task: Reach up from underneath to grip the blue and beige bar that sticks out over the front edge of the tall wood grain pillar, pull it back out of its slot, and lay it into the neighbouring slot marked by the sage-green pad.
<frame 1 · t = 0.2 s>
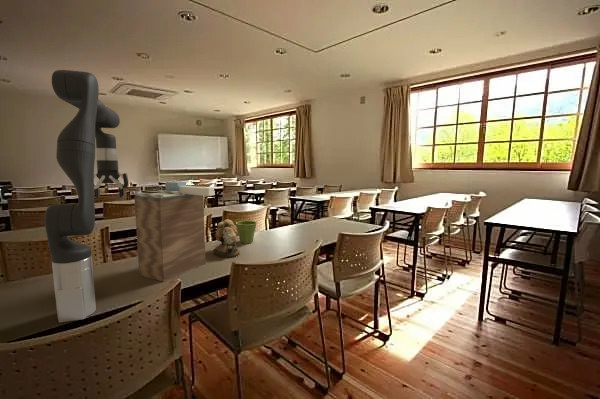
hand: (110, 197, 126), 29 cm above the table, tool pointing down, fingers open, 8 cm apart
blue and beige bar: (187, 193, 123), point 32 cm above the table, touching tall wood grain pillar
plant pot: (246, 242, 167), on the table
tall wood grain pillar: (174, 269, 125), on the table
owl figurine: (226, 253, 147), on the table
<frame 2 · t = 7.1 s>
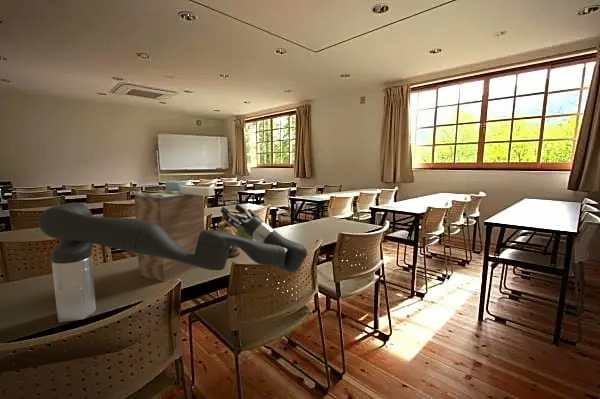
hand: (229, 207, 115), 28 cm above the table, tool pointing upward, fingers open, 8 cm apart
nothing on the table moved.
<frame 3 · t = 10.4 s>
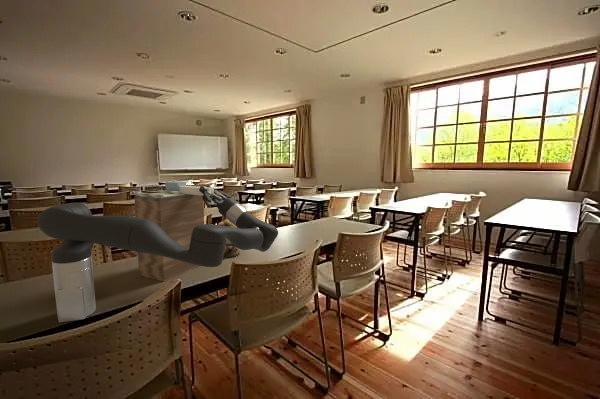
hand: (203, 187, 119), 35 cm above the table, tool pointing upward, fingers closed on blue and beige bar, 3 cm apart
blue and beige bar: (187, 193, 123), point 32 cm above the table, touching gripper
everything else where it was.
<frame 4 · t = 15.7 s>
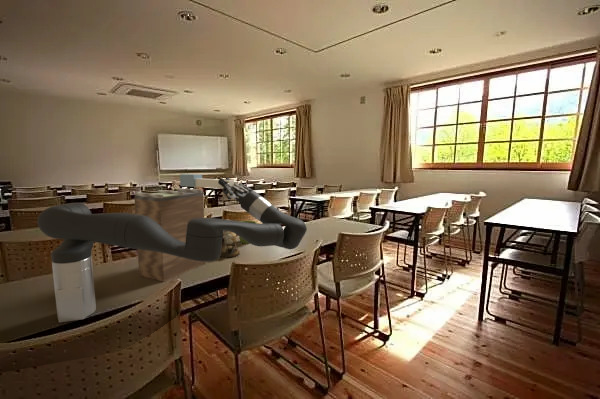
hand: (222, 180, 109), 39 cm above the table, tool pointing upward, fingers closed on blue and beige bar, 3 cm apart
blue and beige bar: (204, 186, 113), point 36 cm above the table, touching gripper
everything else where it was.
when the fingers open (36 cm above the table, at t = 20.6 s): blue and beige bar drops 1 cm, resting on tall wood grain pillar.
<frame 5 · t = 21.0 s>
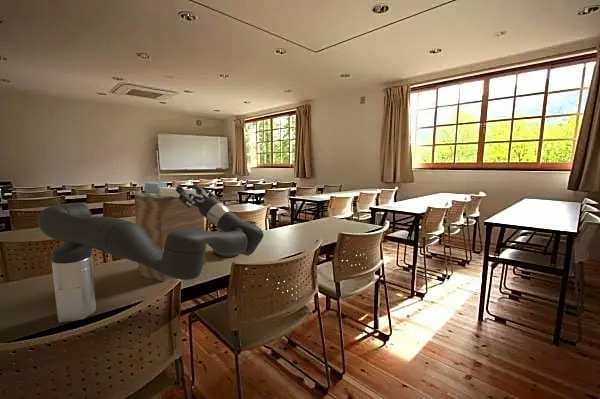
hand: (185, 186, 109), 36 cm above the table, tool pointing upward, fingers open, 7 cm apart
blue and beige bar: (168, 195, 114), point 32 cm above the table, touching tall wood grain pillar
everything else where it was.
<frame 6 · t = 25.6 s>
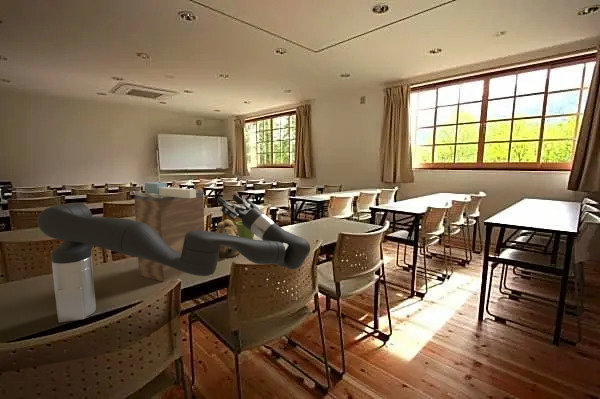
hand: (226, 197, 105), 33 cm above the table, tool pointing upward, fingers open, 8 cm apart
nothing on the table moved.
at the end: blue and beige bar 0.2 cm from the target spot on the tall wood grain pillar, point 32.2 cm above the tall wood grain pillar's base; blue and beige bar tilted 0°; the gripper is holding nothing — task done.
